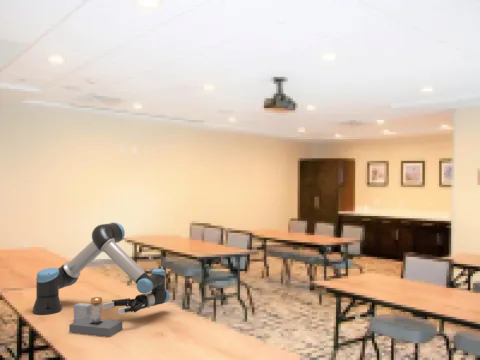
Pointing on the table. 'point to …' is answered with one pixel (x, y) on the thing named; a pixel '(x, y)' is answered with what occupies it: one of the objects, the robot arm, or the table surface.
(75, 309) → the medicine box
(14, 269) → the table surface
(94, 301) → the plug
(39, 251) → the table surface
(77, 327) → the socket block
